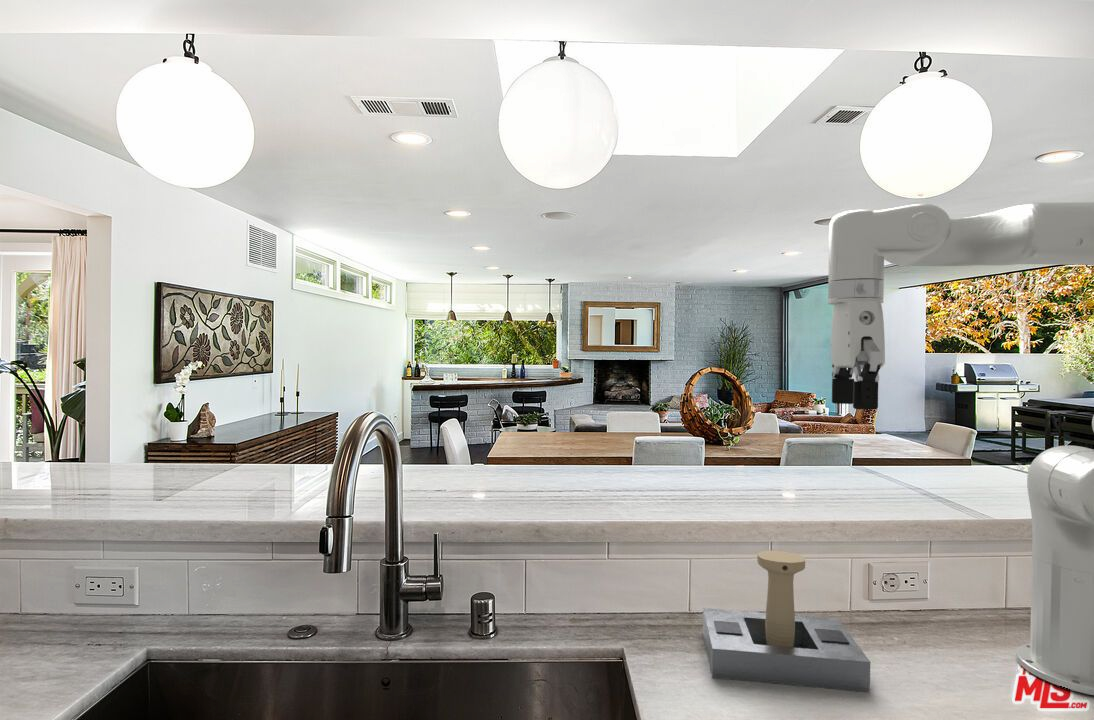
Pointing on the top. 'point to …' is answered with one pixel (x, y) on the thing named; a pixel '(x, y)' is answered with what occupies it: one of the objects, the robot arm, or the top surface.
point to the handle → (780, 595)
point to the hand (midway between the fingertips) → (853, 406)
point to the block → (784, 652)
